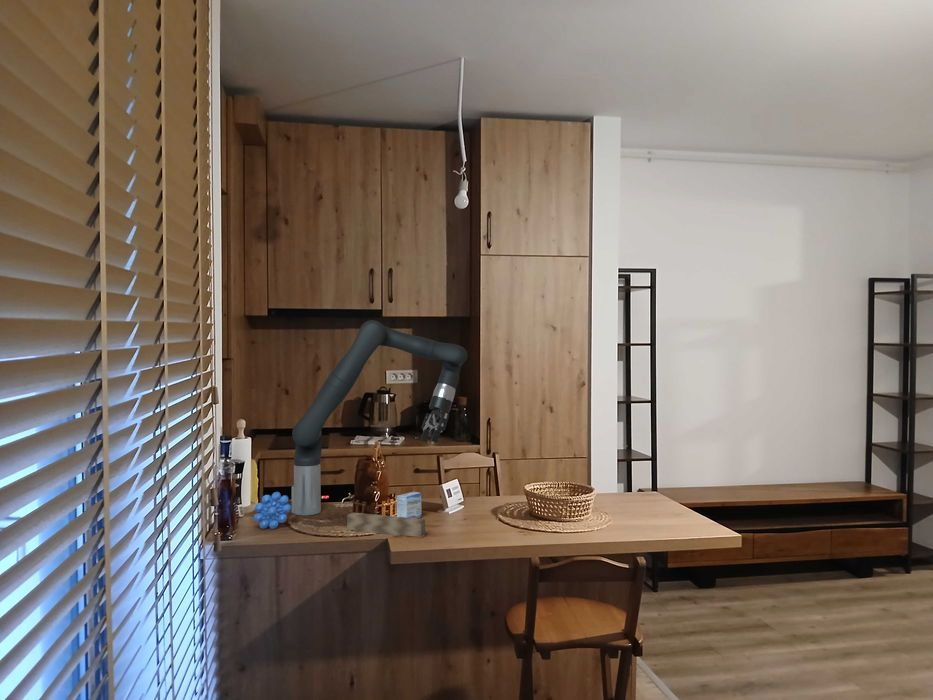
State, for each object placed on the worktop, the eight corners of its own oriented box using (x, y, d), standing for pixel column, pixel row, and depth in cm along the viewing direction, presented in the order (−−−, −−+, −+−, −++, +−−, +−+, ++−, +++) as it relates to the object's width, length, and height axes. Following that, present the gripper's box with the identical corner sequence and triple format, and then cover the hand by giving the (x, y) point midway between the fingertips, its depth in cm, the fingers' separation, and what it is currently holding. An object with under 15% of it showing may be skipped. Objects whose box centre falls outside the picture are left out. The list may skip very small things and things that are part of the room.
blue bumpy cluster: (292, 524, 217) (292, 488, 217) (290, 530, 210) (290, 492, 210) (255, 526, 215) (255, 489, 215) (252, 532, 208) (252, 494, 208)
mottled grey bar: (347, 530, 210) (347, 514, 210) (351, 527, 213) (351, 512, 213) (421, 537, 201) (421, 521, 201) (425, 535, 204) (425, 519, 204)
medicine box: (406, 522, 219) (406, 496, 219) (396, 520, 221) (396, 495, 221) (421, 517, 225) (421, 492, 225) (412, 515, 228) (412, 491, 228)
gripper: (424, 396, 239) (411, 438, 234) (443, 393, 227) (428, 438, 222) (442, 403, 242) (428, 445, 237) (460, 401, 230) (447, 445, 225)
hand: (428, 441), depth 230 cm, fingers open, 8 cm apart
